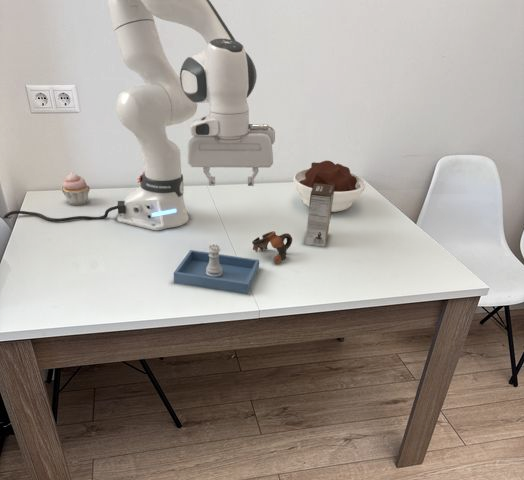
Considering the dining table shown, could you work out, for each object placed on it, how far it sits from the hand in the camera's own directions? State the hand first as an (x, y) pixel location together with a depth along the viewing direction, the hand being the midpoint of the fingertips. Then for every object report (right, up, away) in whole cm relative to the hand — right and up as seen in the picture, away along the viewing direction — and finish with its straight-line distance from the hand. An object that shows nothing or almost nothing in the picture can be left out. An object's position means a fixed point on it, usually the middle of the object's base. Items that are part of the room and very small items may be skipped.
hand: (231, 185), depth 119 cm
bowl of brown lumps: (+30, +11, +55) cm, 64 cm away
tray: (-4, -20, +11) cm, 24 cm away
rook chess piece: (-5, -20, +11) cm, 24 cm away
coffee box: (+24, -6, +33) cm, 41 cm away
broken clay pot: (+11, -13, +22) cm, 28 cm away
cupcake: (-55, +10, +46) cm, 73 cm away
